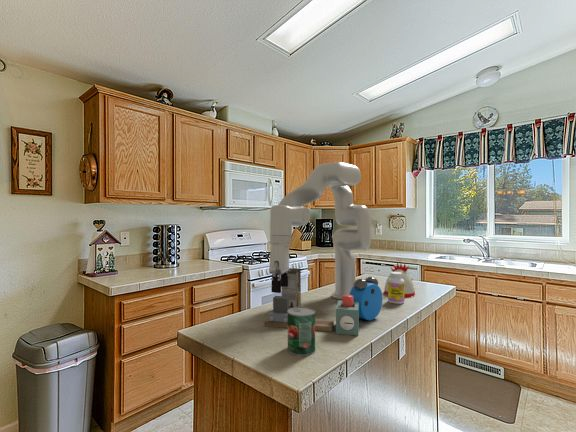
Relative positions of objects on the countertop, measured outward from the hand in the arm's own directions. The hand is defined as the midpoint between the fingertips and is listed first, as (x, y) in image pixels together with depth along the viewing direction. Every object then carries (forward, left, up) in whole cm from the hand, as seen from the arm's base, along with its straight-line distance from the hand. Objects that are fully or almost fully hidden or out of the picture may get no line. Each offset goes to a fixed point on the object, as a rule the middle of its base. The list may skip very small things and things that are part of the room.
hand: (280, 289), depth 108 cm
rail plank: (0, +7, -12) cm, 14 cm away
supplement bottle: (-37, +42, -12) cm, 58 cm away
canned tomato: (+18, +11, -12) cm, 25 cm away
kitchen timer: (-53, +45, -12) cm, 71 cm away
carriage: (-1, 0, -10) cm, 10 cm away
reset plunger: (-1, +23, -6) cm, 24 cm away
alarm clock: (-13, +29, -12) cm, 34 cm away
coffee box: (-16, 0, -12) cm, 21 cm away
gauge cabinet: (-1, +23, -12) cm, 26 cm away
